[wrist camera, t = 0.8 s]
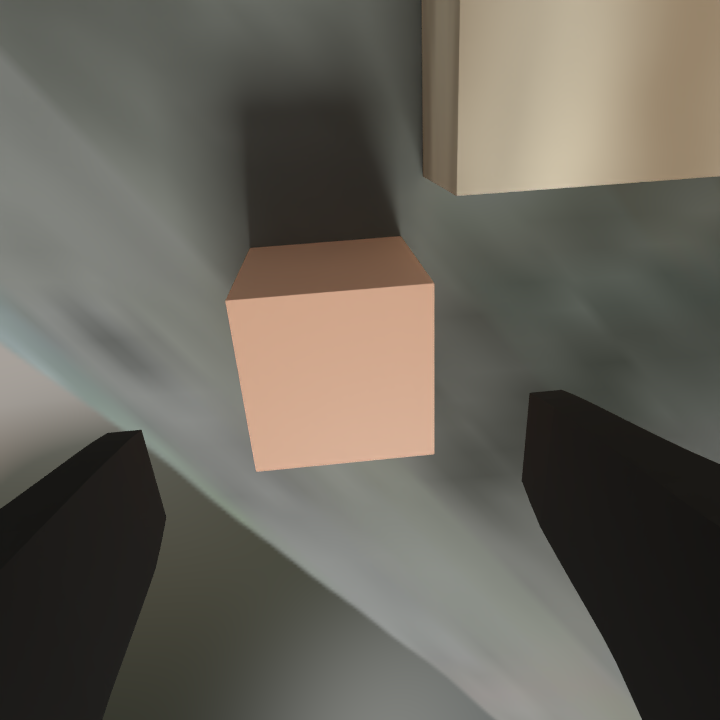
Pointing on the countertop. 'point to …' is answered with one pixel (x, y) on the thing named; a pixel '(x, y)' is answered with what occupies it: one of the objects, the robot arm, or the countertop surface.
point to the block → (334, 352)
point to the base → (569, 93)
